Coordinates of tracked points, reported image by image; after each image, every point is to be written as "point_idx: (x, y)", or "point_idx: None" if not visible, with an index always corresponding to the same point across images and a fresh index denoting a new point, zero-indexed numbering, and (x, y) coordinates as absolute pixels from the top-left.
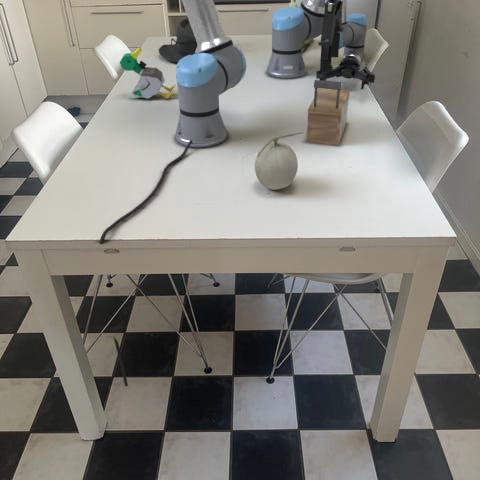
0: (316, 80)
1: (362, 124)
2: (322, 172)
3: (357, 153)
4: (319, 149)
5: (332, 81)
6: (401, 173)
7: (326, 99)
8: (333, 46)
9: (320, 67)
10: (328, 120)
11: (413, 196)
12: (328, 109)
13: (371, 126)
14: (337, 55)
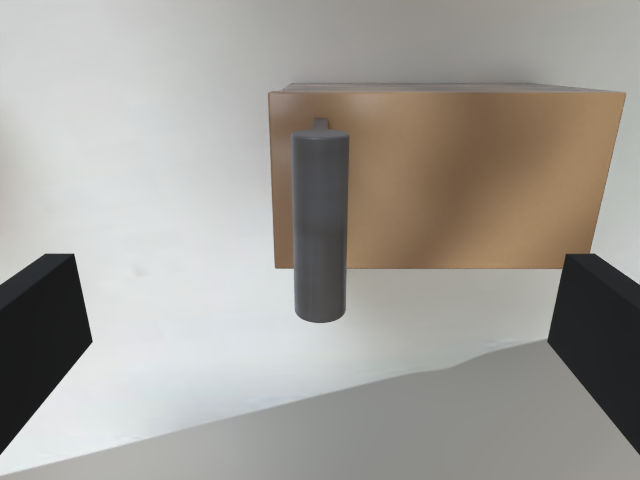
0: (313, 152)
1: (513, 270)
2: (63, 192)
3: (251, 281)
4: (241, 149)
5: (318, 269)
6: (160, 404)
7: (436, 171)
8: (622, 360)
9: (22, 276)
10: None
11: (44, 433)
12: (288, 205)
13: (497, 302)
14: (556, 348)
